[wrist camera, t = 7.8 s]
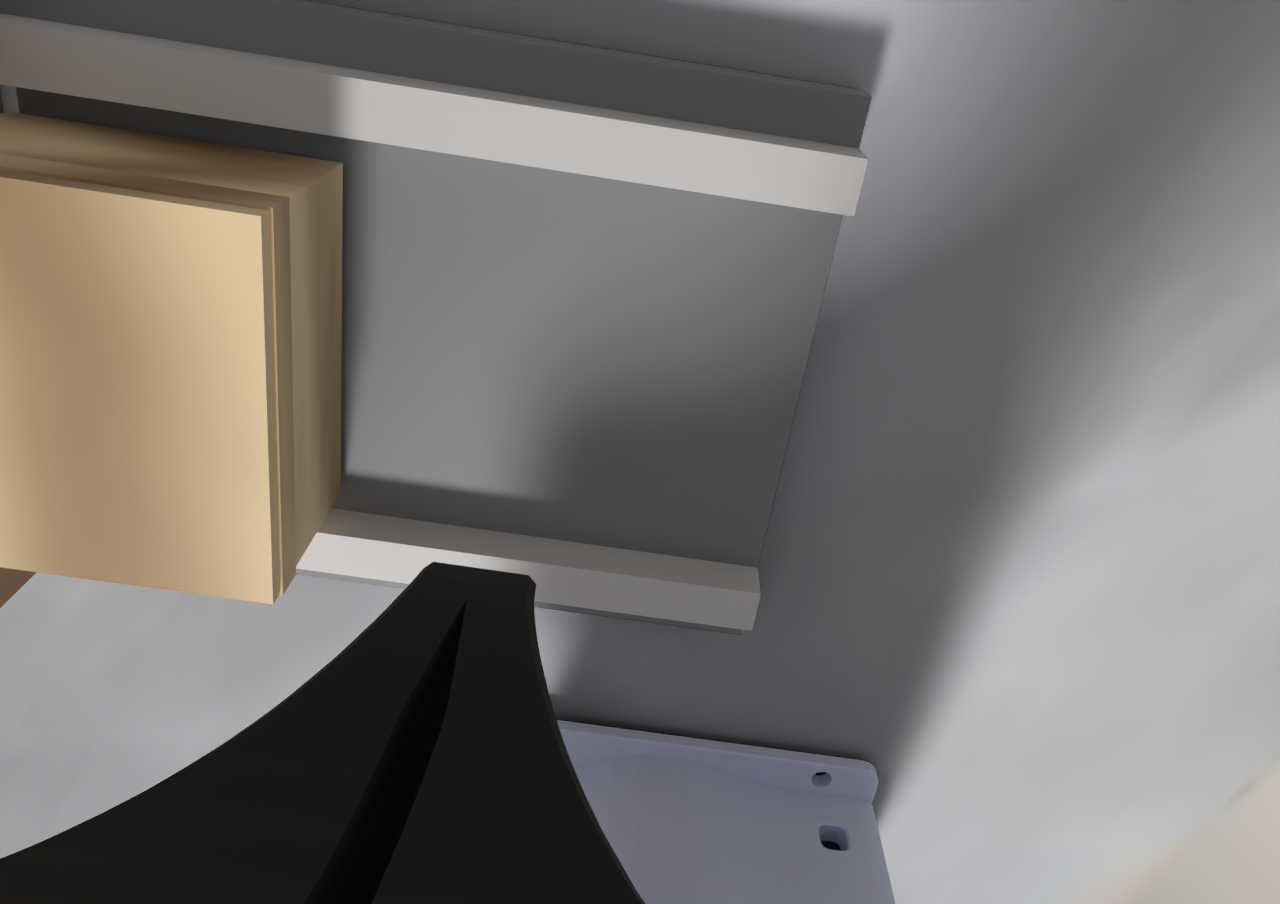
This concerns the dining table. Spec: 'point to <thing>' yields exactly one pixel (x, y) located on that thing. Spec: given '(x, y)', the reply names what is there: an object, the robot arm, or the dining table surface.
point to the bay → (515, 277)
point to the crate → (166, 357)
